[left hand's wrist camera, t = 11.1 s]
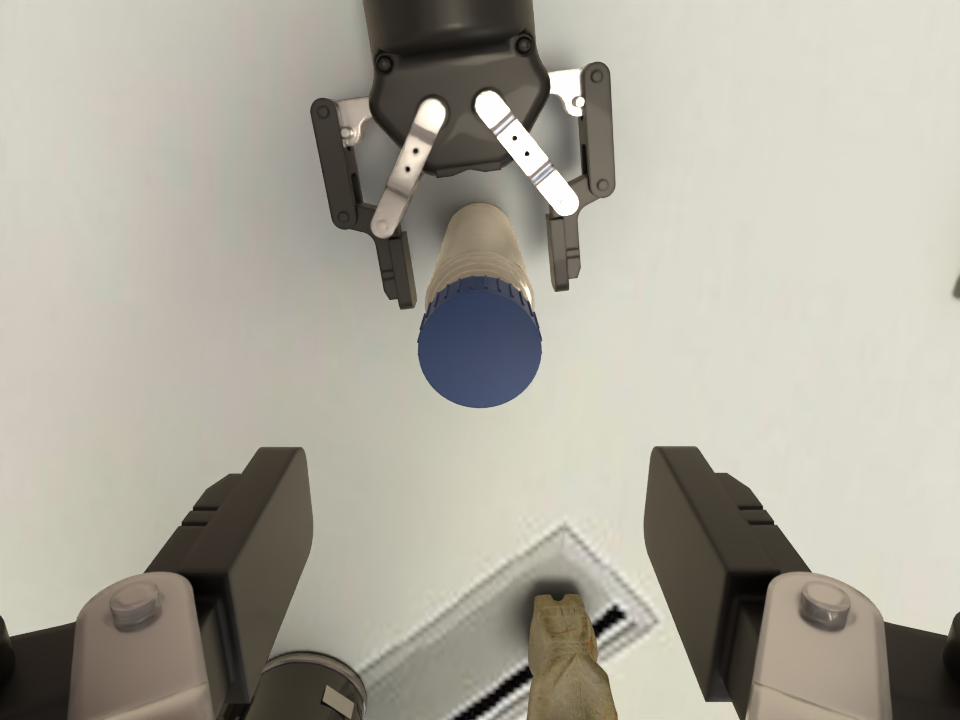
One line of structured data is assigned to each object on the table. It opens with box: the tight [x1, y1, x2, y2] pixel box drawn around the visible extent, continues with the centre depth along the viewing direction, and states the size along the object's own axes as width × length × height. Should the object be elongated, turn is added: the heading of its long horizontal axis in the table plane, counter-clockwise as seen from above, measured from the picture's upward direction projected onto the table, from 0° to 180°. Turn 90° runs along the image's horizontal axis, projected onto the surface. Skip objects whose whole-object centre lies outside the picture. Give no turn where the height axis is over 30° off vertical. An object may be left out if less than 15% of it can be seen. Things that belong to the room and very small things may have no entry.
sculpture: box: [527, 594, 618, 720], centre depth 41 cm, size 6×7×15 cm
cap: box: [417, 275, 542, 408], centre depth 20 cm, size 4×4×2 cm
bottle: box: [425, 203, 535, 312], centre depth 29 cm, size 4×4×20 cm
